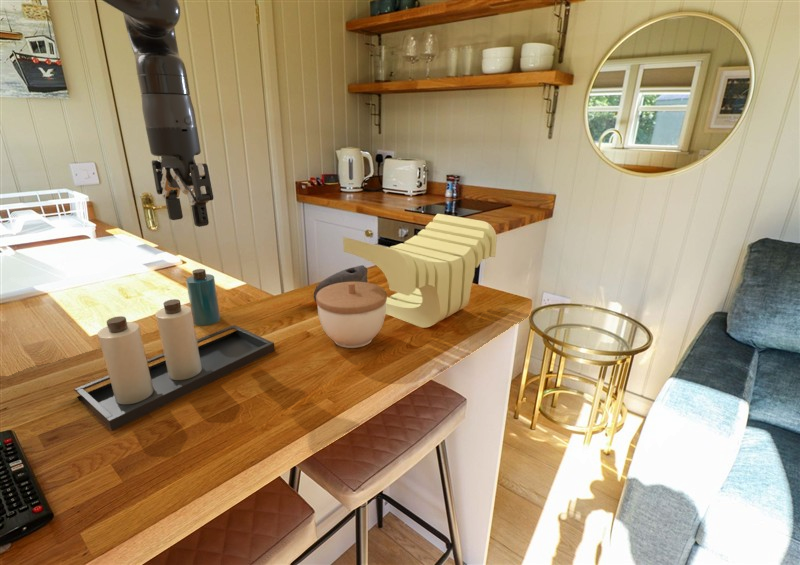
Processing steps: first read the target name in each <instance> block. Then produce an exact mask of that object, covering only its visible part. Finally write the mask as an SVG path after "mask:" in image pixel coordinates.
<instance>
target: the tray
mask: <svg viewBox="0 0 800 565" xmlns="http://www.w3.org/2000/svg"><path fill="white" fill-rule="evenodd" d="M230 330H234V331H233V332H229V333H227V334H225V335H223V336H219V337H218V338H215V339H213V340H210V341H209V342H205V343H204V344H201V345H198V349H199V354H200V360H201V365H202V370H201V372H200V373H199V374H197V375H196V376H194V377H192V378H189V379H184V380H173V379H171V378H169V376H168V372H167V367H166V362H165V360H162V361H160V362H157V363H155V364H152V365H150V366H149V371H150V375H151V379H152V384H153V388H154V391H153V393H152V394H151V395H150V396H149V397H148V398H146V399H144V400H142V401H140V402H137V403H134V404H126V405H124V404H119V403H117V402H116V400H115V397H114V393H113V390H112V386H111V382H109V383H107V384H103V385H102V386H99V387H97V388H95V389H93V390H90V391H86V390H85V389H89V388H90V387H93V386H95V385H97V384H101V383H103V382H104V381H108V380H110V379H109V375H108V374H107V375H105V376H103V377H101V378H98V379H95V380H93V381H90V382H87V383H86V384H83V385H80V386H78V387H75V388H74V389H73V390H74V391H75V392H76V393H77V394H78V396H76V399H77V400H78V401H79V402H80V403H81V404H82V405H83V406H85V407H86V408H87V409H88V410H89V411H90V412H91V413H92V414H93V415H94V416H95V417H96V418H97V419H98V420H99V421H101V422H102V424H103V425H104V426H106V427H107V428H108V429H109V430H110V431H111V432H112V431H115V430H117V429H119V428H121V427H123V426H125V425H127V424H130V423H131V422H133V421H135V420H138V419H139V418H142V417H144V416H145V415H147V414H149V413H151V412H154V411H156V410H157V409H159V408H162V407H164V406H166V405H168V404H169V403H172V402H173V401H176V400H178V399H181V398H182V397H184V396H186V395H188V394H190V393H192V392H194V391H196V390H198V389H200V388H202V387H205V386H206V385H208V384H210V383H213V382H215V381H216V380H219V379H221V378H222V377H224V376H226V375H227V376H228V375H229V374H231V373H233V372H235V371H236V370H240V369H241V368H243V367H245V366H247V365H249V364H251V363H253V362H255V361H257V360H259V359H260V358H263V357H265V356H267V355H269V354H272V353H273V352H276V350H275V349H276V348H275V342H273V341H271V340H268V339H266V338H264V337H262V336H260V335H258V334H256V333H253V332H251V331H249V330H246V329H244V328H242V327H240V326H238V325H235V324H233V325H230V326H228V327H226V328H223V329H220V330H217V331H216V332H213V333H210V334H208V335H205V336H203V337H200V338H197V343H198V344H199V343H201V342H204V341H205V340H208V339H211V338H213V337H215V336H218V335H220V334H223V333H225V332H227V331H230ZM161 358H164V353H160V354H157V355H156V356H153V357H150V358H148V359H147V362H148V364H149V363H151V362H154V361H157V360H159V359H161Z"/></svg>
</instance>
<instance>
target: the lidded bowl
mask: <svg viewBox="0 0 800 565" xmlns="http://www.w3.org/2000/svg"><path fill="white" fill-rule="evenodd" d="M387 297H388V293H387V291H386V290H385V289H384V287H382V286H381V285H378V284H375V283H371V282H342V283H336V284H332V285H329V286H326V287H324V288H322V289H321V290H320V291H319V292H318V293H317V295H316V302H317V303H316V302H315V303H316V305H317V314H318V320H319V323H320V326H321V328H322V330H323V332H324V333H325V335H326V336H327V337H328V338H329V339H331V340H332V341H333V342H334V344H336V345H337V346H339V347H342V348H345V349H346V348H347V349H355V348H356V349H357V348H363V347H365V346H367V345H369V344H370V343H371V342H372V341H373V339H374V338H375V337H376V336H377V335H378V334H379V333H380V332H381V330H382V328H383V326H384V324H385V320H386V314H385V313H386V301H387Z"/></svg>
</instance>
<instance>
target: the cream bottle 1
mask: <svg viewBox="0 0 800 565" xmlns="http://www.w3.org/2000/svg"><path fill="white" fill-rule="evenodd" d="M106 325H107V326H105V327H103V328H102V329H100V330H98V332H97V339H98V342H99V346H100V349H101V353H102V356H103V360H104V365H105V368H106V372H107V376H108V375H109V379H108V380H109V383H111V386H112V390H113V393H114V397H115V400H116V402H117V403H119V404H124V405H126V404H134V403H137V402H140V401H142V400H144V399H146V398H148V397H149V396H150V395H151V394H152V393H153V391H154V388H153V384H152V379H151V375H150V371H149V367H150V366H149V363H148V362H147V360H148V359H147V354H146V350H145V345H144V341H143V337H142V332H141V329H140V325H139V324H138V323H137V322H134V321H127V317H126V316H123V315H120V316H114V317H111V318H108V319H107V320H106Z"/></svg>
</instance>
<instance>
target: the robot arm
mask: <svg viewBox="0 0 800 565" xmlns="http://www.w3.org/2000/svg"><path fill="white" fill-rule="evenodd" d="M101 1H102V2H103V3H105V4H107V5H109V6H111V7H113V8H114V9H116V10H117V11H119V12H121V13H122V15H123V16H122V17H123V20H124V24H125V28H126V32H127V35H128V39H129V42H130V45H131V49H132V53H133V55H134V60H135V71H136V75H137V80H138V86H139V90H140V96H141V110H142V116H143V120H144V121H143V122H144V124H145V131H146V135H147V136H146V137H147V140H148V146H149V151H150V154H151V155H152V156H154V157H160V158H161V159H153V160H151V167H152V173H153V179H154V184H155V189H156V194H157V195H161V197H162V198H163V199H164V200H165V205H166V210H167V214H168V215H167V216H168V219H169V220H170V221H178V220H182V219H183V217H184V215H183V211H182V210H183V209H182V203H181V200H180V199H181V198H179V197H180V193H182V194H184V195H186V196H187V198H188V200H189V201H190V204H191V205H190V206H191V207H190V208H191V212H192V217H193V224H194V226H195V227H198V228H202V227H206V226H208V225H209V223H210V222H209V216H208V210H207V203H209V202H210V201H214V192H213V188H212V187H213V186H212V181H211V177H210V176H211V175H210V171H209V166H208V164H207V163H205V162H204V163H196V160H195V156H198V155H200V154H201V153H202V150H201V143H200V138H199V131H198V124H197V119H196V112H195V108H194V105H193V101H192V97H191V90H190V85H189V80H188V74H187V69H186V65H185V63H184V61H183V59H182V58H181V57H180V54H179V53H180V52H179V48H178V41H177V36H176V28H175V27H176V26H177V25H178V23H179V20H180V17H181V6H180V3H179V0H101ZM204 189H205V191H204Z"/></svg>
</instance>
